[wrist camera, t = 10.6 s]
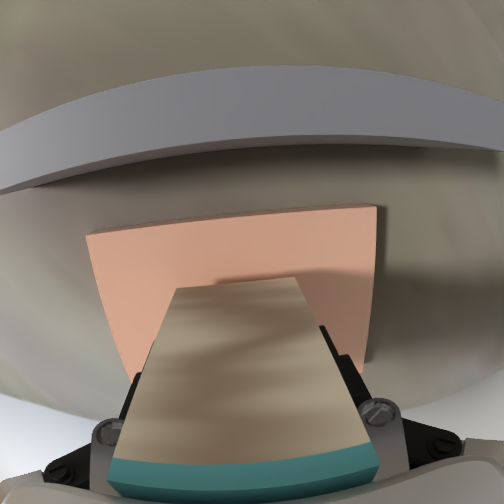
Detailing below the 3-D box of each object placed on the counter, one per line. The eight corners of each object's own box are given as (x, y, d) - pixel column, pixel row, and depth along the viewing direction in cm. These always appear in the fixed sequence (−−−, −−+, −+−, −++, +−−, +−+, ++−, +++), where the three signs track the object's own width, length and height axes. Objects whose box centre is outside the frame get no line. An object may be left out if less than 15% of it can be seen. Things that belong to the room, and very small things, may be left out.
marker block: (294, 276, 12) (380, 464, 4) (296, 367, 14) (340, 532, 5) (176, 287, 12) (105, 479, 4) (196, 376, 14) (177, 544, 5)
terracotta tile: (368, 203, 14) (376, 206, 13) (356, 362, 17) (362, 372, 16) (94, 230, 14) (85, 235, 13) (138, 382, 17) (135, 392, 16)
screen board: (425, 112, 13) (503, 102, 7) (427, 147, 13) (507, 151, 7) (26, 153, 12) (-50, 161, 6) (30, 187, 13) (-46, 208, 7)
